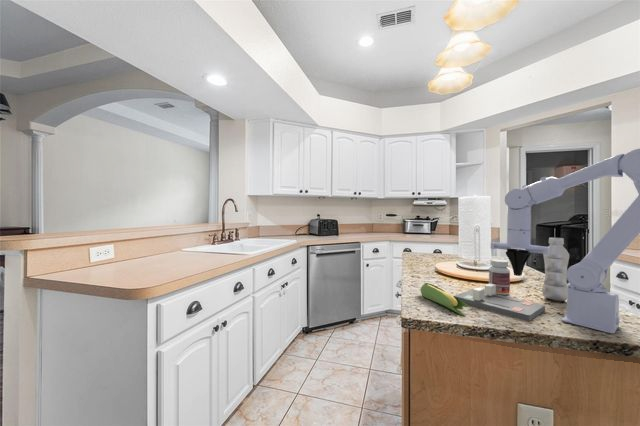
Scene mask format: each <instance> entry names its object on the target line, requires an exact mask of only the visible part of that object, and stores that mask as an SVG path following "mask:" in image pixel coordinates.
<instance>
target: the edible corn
mask: <svg viewBox="0 0 640 426" xmlns="http://www.w3.org/2000/svg"><path fill="white" fill-rule="evenodd" d="M420 293H421V295H422V297H423V298H425V299H428V300H430V301H432V302H435V303H436V304H439V305H441V306H442V307H445V308H447V309H449V310H451V311H453V312H455V313H457V314H459V315H461V316H466V314H464V313H463V312H462V311H461V310H464V308H468V307H469V305H468V304H466V303H464V302H463V301H461V300H459V299H458V298H456V297H454V296H455V295H453V294H451V293H449V292H447V291H445V290H443V289H441V288H440V287H438V286H437V285H434V284H432V283H429V282H426V283H423V284H422V285H421V288H420Z"/></svg>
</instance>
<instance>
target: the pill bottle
mask: <svg viewBox="0 0 640 426" xmlns="http://www.w3.org/2000/svg"><path fill="white" fill-rule="evenodd" d="M490 265H491V266H490V267H489V268H488V284H495V285H496V294H497V295H501V296H508V295H510V293H511V292H510V291H511V288H510V286H511V270H510V269H509V268H508V267H509V261H508V260H506V259H500V258H499V259H498V258H497V259H496V258H494V259H490Z"/></svg>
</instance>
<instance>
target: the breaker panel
mask: <svg viewBox="0 0 640 426" xmlns="http://www.w3.org/2000/svg"><path fill="white" fill-rule="evenodd" d="M473 289H474V288H471V289H469V290H467V291H464V292H461V293H458V294H455V295H453V296H454V297H456V298H458V299H459V300H461V301H463V302H464V303H466V304H467V305H468V306H472V307H475V308H479V309H482V310H487V311H490V312H494V313H498V314H502V315H505V316H509V317H513V318H516V319H519V320H524V321H527V322H530V321H532V320H533V319H535V318H536V317H537V316H539V315H541V314H542V313H543V312H545V311H546V305H545V304H540V303H536V302H532V301H527V300H523V299H519V298H513V297H509V296H507V295H499V294H494V295H492V296H489V295H485V298H484V299H482V300H480V301H478V300H474V299H473Z"/></svg>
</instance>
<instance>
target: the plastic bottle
mask: <svg viewBox="0 0 640 426" xmlns="http://www.w3.org/2000/svg"><path fill="white" fill-rule="evenodd" d="M564 241H565V240H564V238H562V237H549V238H548V244H549V245H548V246H547V247H550V254H542V255H543V261H544V278H543V280H544V281H543V284H542V289H541V291H542V295H543V296H544V298H546V299H549V300H551V301H557V302H558V301H559V302H566V301H567V286H568V285H567V284H568V280H567V278H566V272H567V270H568V265H569V260H570V253H569V252H568V250H567V248H565V247H564V245H565V242H564Z"/></svg>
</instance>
